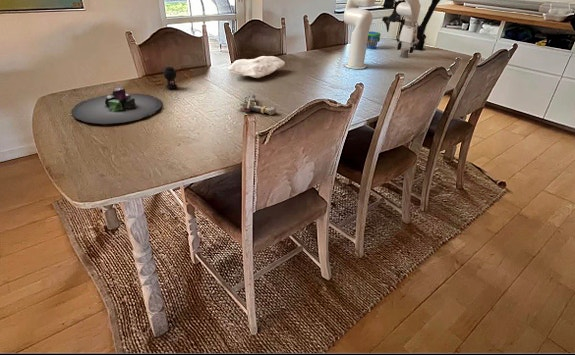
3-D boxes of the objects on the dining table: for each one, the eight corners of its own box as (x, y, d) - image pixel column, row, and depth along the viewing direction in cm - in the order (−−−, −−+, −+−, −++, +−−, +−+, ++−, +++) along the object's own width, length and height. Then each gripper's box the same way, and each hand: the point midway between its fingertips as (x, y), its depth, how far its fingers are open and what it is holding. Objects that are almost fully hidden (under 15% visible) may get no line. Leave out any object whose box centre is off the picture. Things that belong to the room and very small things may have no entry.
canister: (401, 55, 246) (402, 48, 244) (407, 56, 245) (409, 49, 242) (399, 56, 243) (401, 49, 240) (406, 57, 241) (408, 50, 239)
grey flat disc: (174, 113, 149) (170, 91, 144) (79, 131, 131) (72, 107, 127) (148, 93, 173) (144, 73, 169) (65, 106, 156) (59, 85, 151)
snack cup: (373, 45, 269) (375, 30, 263) (383, 48, 262) (386, 33, 256) (357, 47, 261) (359, 32, 256) (367, 50, 254) (370, 35, 249)
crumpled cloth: (215, 70, 197) (215, 54, 191) (268, 61, 215) (270, 45, 209) (238, 89, 184) (239, 72, 178) (292, 77, 202) (294, 61, 196)
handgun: (275, 94, 165) (242, 93, 164) (275, 109, 150) (239, 108, 149) (275, 100, 167) (242, 99, 166) (275, 115, 152) (239, 114, 151)
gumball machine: (165, 90, 172) (162, 69, 166) (163, 86, 176) (159, 65, 171) (180, 88, 175) (177, 67, 169) (177, 85, 179) (174, 64, 174)
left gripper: (425, 25, 229) (419, 53, 238) (403, 21, 240) (397, 48, 249) (418, 26, 225) (412, 54, 234) (396, 22, 236) (390, 49, 245)
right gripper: (380, 9, 257) (377, 32, 265) (406, 12, 248) (401, 36, 256) (387, 7, 264) (383, 30, 273) (412, 10, 255) (407, 34, 264)
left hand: (404, 51), depth 242 cm, fingers open, 9 cm apart
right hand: (393, 33), depth 266 cm, fingers open, 9 cm apart
